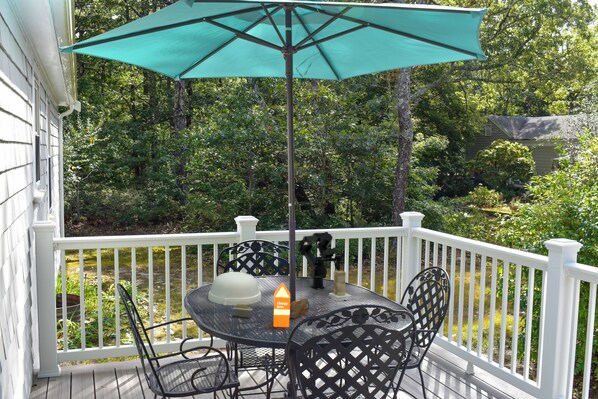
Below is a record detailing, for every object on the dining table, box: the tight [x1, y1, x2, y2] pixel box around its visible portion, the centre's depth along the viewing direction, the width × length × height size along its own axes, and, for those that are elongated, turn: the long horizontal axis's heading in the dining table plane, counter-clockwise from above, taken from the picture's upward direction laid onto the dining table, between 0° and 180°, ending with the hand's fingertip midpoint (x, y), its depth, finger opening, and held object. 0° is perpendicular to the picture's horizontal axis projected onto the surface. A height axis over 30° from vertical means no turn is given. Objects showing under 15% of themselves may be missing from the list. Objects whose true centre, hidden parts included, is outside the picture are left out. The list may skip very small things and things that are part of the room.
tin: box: [289, 298, 310, 319], centre depth 290 cm, size 15×3×8 cm, turn 143°
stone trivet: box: [328, 292, 353, 299], centre depth 326 cm, size 10×10×3 cm
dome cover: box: [207, 271, 262, 306], centre depth 319 cm, size 32×30×14 cm
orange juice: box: [273, 282, 291, 328], centre depth 275 cm, size 8×9×20 cm
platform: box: [232, 304, 254, 319], centre depth 286 cm, size 12×18×7 cm, turn 78°
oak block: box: [333, 270, 347, 295], centre depth 326 cm, size 5×5×13 cm
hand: (332, 272), depth 332 cm, fingers open, 9 cm apart
